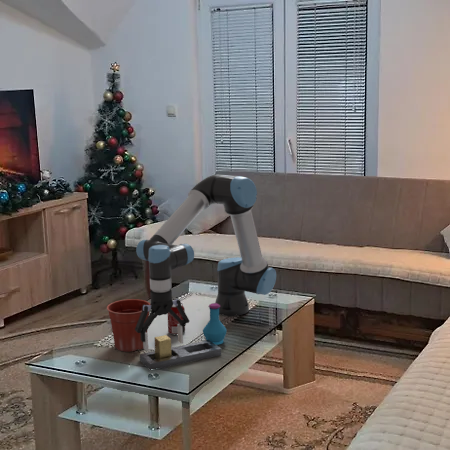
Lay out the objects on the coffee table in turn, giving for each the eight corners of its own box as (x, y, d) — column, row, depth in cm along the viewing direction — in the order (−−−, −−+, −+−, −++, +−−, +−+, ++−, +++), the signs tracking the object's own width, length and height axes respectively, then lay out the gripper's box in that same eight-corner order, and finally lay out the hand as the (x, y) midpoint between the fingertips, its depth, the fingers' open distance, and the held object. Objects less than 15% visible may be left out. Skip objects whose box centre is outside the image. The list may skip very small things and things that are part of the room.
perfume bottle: (230, 338, 275) (229, 302, 272) (222, 347, 266) (221, 309, 263) (207, 336, 278) (207, 299, 275) (199, 344, 269) (198, 307, 266)
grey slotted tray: (209, 346, 268) (209, 339, 267) (221, 355, 259) (221, 348, 258) (140, 360, 255) (139, 354, 254) (150, 370, 246) (150, 363, 246)
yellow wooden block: (166, 358, 257) (166, 335, 255) (171, 362, 253) (171, 338, 251) (155, 360, 255) (154, 337, 253) (160, 365, 251) (159, 341, 249)
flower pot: (119, 357, 258) (117, 316, 254) (102, 343, 271) (99, 304, 268) (159, 348, 266) (158, 307, 263) (140, 335, 280) (139, 296, 277)
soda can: (182, 336, 278) (181, 307, 275) (166, 335, 279) (165, 306, 277) (186, 330, 284) (186, 302, 282) (170, 329, 286) (169, 301, 283)
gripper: (188, 280, 257) (190, 335, 262) (123, 292, 246) (127, 349, 250) (197, 286, 250) (199, 342, 255) (131, 298, 239) (134, 356, 244)
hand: (163, 345), depth 253 cm, fingers open, 13 cm apart
